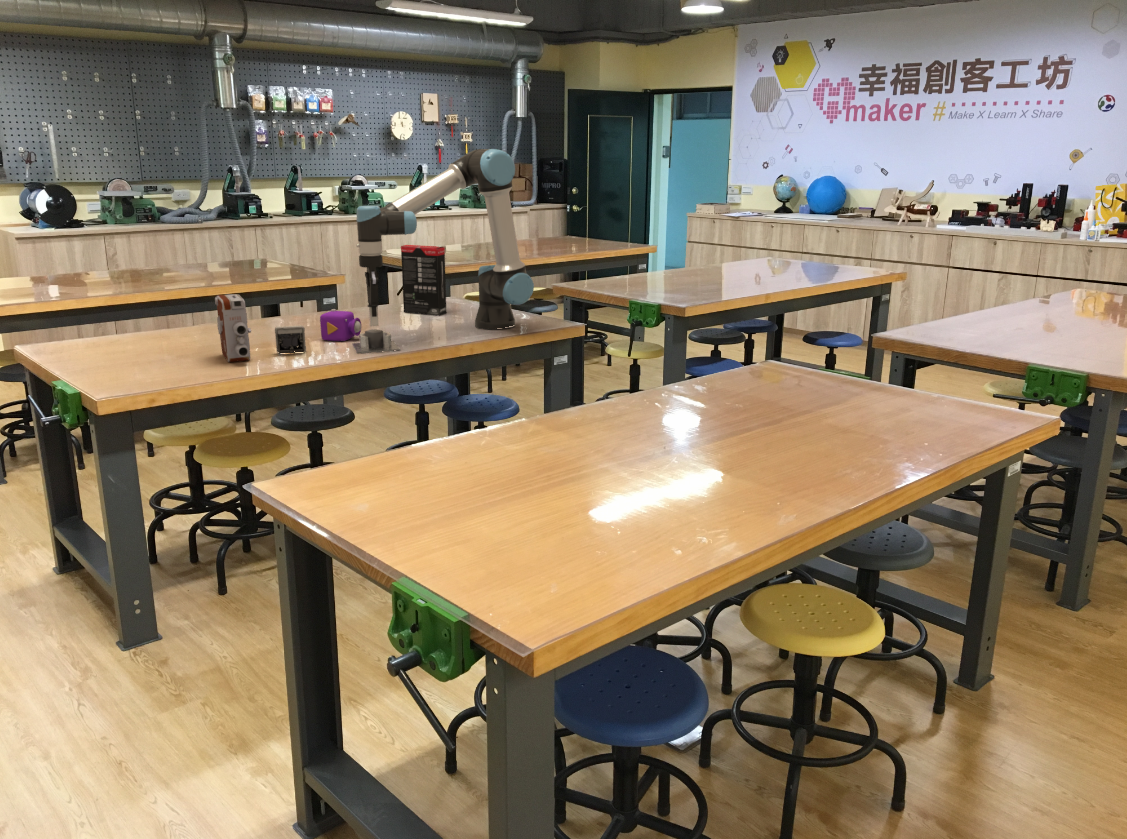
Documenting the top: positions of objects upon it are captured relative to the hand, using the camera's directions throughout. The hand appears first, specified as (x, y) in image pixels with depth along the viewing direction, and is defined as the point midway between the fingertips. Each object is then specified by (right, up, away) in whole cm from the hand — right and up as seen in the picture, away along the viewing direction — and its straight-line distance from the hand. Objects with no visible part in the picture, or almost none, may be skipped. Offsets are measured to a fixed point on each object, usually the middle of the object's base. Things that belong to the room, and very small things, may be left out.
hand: (374, 325), depth 301 cm
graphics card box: (+7, +12, +65) cm, 67 cm away
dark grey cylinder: (0, -7, +2) cm, 7 cm away
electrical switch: (-25, -10, -6) cm, 28 cm away
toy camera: (-14, -3, +16) cm, 22 cm away
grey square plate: (0, -7, +2) cm, 8 cm away
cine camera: (-40, -13, -15) cm, 45 cm away
